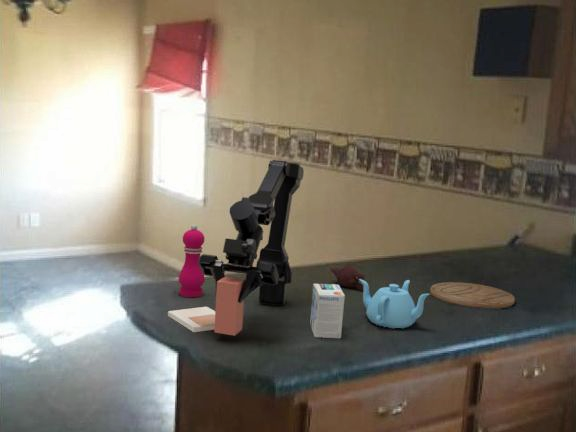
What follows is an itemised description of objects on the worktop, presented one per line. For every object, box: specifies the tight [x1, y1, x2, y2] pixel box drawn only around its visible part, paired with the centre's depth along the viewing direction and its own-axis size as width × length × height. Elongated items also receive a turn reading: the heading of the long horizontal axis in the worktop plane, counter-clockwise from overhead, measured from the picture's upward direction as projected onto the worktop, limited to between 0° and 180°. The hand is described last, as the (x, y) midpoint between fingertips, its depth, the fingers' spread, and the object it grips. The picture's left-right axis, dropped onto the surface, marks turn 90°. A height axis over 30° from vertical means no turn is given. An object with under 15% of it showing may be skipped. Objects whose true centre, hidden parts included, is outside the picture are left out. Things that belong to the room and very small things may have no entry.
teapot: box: [359, 279, 430, 329], centre depth 190 cm, size 15×15×10 cm
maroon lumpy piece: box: [329, 264, 365, 292], centre depth 224 cm, size 7×7×15 cm
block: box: [213, 276, 245, 336], centre depth 168 cm, size 5×5×12 cm
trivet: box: [429, 281, 516, 308], centre depth 222 cm, size 25×25×2 cm
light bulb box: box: [309, 283, 346, 339], centre depth 179 cm, size 11×7×11 cm, turn 5°
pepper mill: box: [178, 223, 205, 298], centre depth 202 cm, size 7×7×20 cm
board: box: [167, 306, 215, 333], centre depth 180 cm, size 14×11×1 cm
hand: (227, 300), depth 166 cm, fingers closed on block, 5 cm apart
